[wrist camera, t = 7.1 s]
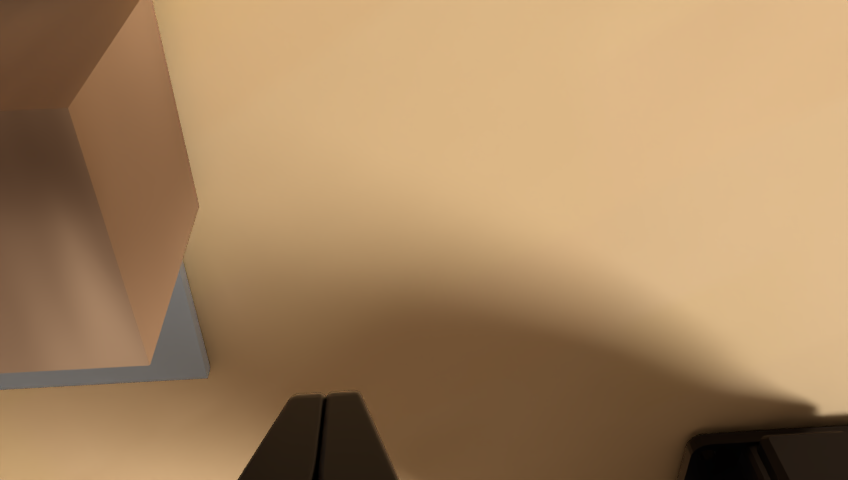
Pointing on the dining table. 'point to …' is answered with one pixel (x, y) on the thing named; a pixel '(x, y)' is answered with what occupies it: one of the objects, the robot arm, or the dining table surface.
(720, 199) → the dining table surface
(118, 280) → the walnut block
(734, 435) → the robot arm
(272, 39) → the dining table surface
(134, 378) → the grey mat
